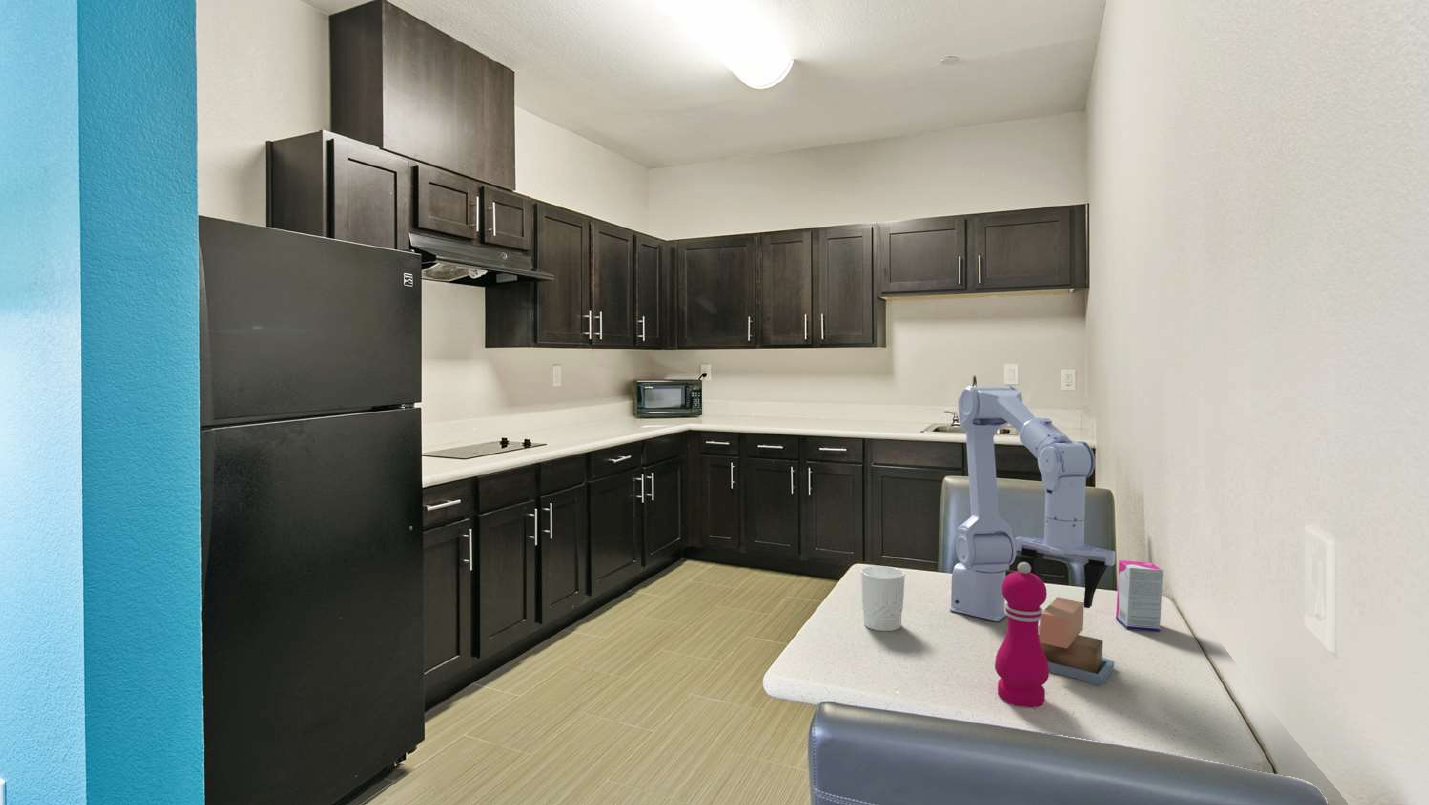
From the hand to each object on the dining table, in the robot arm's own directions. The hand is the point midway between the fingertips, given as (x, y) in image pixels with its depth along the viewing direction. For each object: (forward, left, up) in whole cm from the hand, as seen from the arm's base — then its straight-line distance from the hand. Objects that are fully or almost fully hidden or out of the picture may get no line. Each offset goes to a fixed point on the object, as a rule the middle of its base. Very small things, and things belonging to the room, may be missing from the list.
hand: (1061, 601), depth 115 cm
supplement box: (+6, +28, -11) cm, 31 cm away
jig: (0, 0, -10) cm, 10 cm away
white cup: (-30, -3, -11) cm, 32 cm away
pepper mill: (-1, -16, -11) cm, 19 cm away
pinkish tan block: (0, 0, -6) cm, 6 cm away
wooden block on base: (0, 0, -11) cm, 11 cm away
